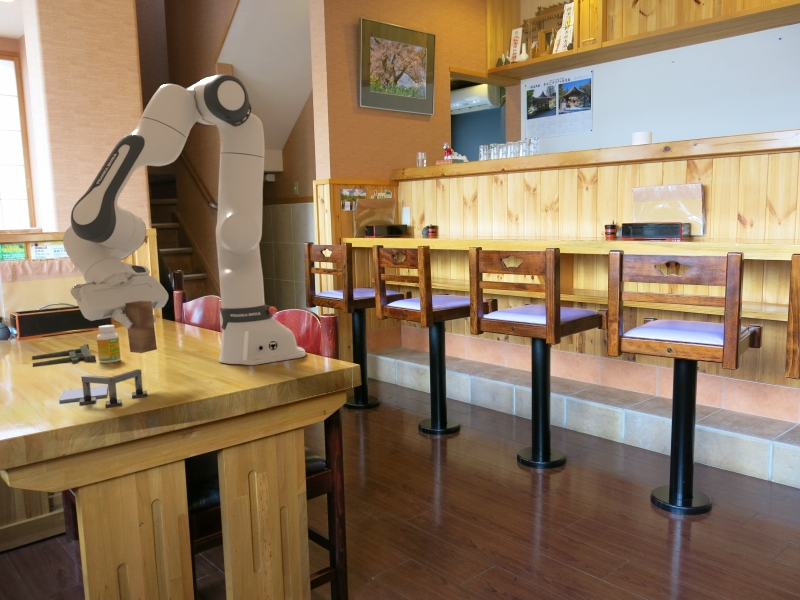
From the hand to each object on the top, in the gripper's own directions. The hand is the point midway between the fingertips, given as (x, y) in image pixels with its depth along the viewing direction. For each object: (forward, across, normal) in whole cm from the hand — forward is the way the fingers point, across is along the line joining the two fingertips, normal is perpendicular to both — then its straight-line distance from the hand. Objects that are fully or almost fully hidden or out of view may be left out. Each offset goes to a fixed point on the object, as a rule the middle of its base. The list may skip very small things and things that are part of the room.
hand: (142, 324), depth 146 cm
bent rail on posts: (+12, -11, +8) cm, 18 cm away
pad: (+5, -11, +15) cm, 19 cm away
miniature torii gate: (-27, +10, +47) cm, 55 cm away
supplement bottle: (-15, +14, +35) cm, 41 cm away
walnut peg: (+4, 0, +5) cm, 6 cm away
